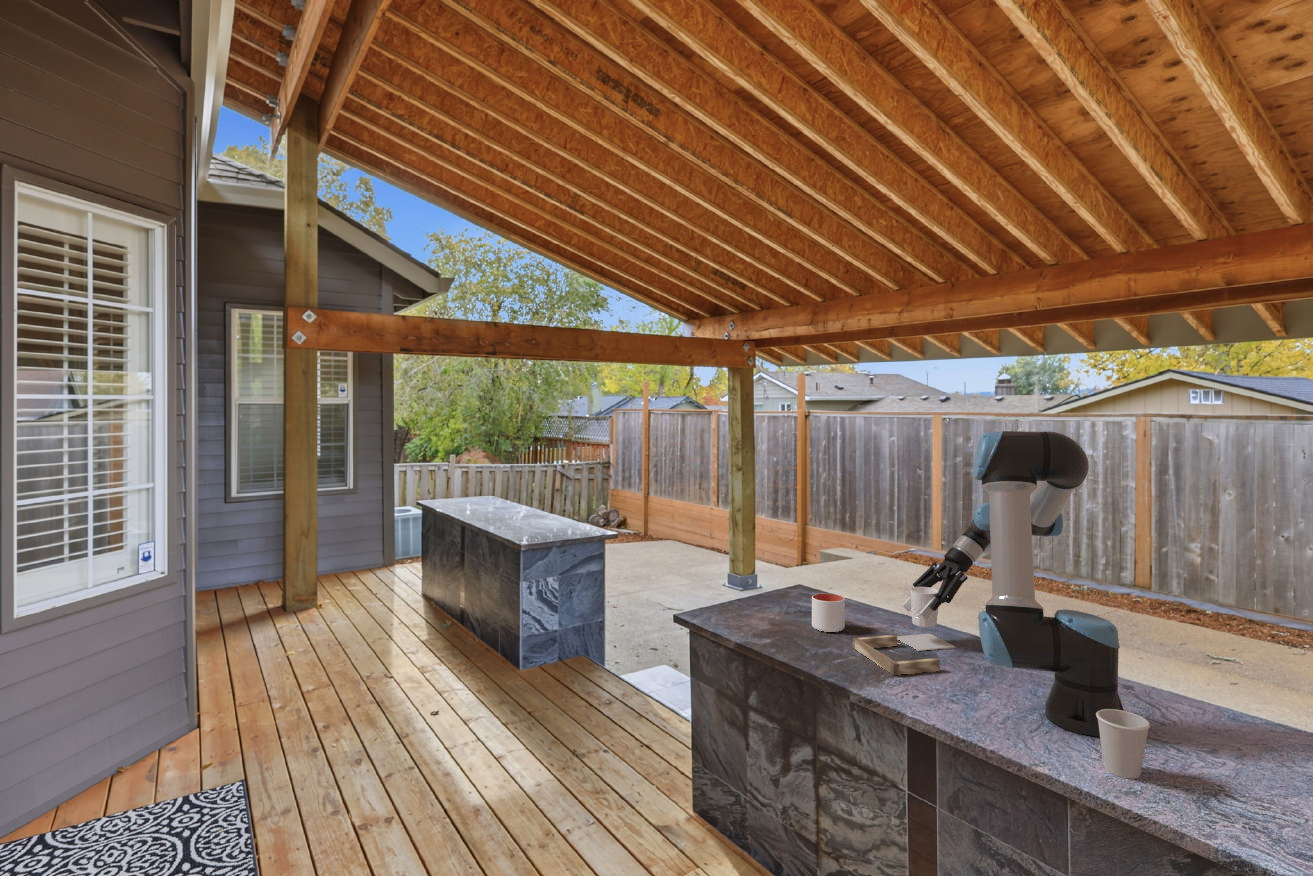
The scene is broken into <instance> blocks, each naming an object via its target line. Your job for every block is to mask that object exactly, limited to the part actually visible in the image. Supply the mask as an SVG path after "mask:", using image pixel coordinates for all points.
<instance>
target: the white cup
mask: <svg viewBox="0 0 1313 876" xmlns="http://www.w3.org/2000/svg"><path fill="white" fill-rule="evenodd" d="M938 591H939V590H938V589H936V588H934V587H930V588H929V587H914V586H913V587H911V588H910V594H909V595H911V610H910V613H911V623H912V624H913V625H915V626H918V627H923V628H934V627H936V626H937V624H938V614H939V607H938V608H937V610H935V611H934V612H933V613H932V615H931V616H930V617H929V618H928V619H927V620H925V619H924V618H923V617H922V616H921V615H920V614H919V613H920V612H921V611H922V610H923V608H924V607H925V606H926V605H927V604H928V602H929V601H930V600H931V599H932V598H933V597H935V595H937V594H938ZM935 598H936V597H935ZM936 599H937V598H936Z"/></svg>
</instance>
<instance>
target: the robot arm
mask: <svg viewBox="0 0 1313 876" xmlns="http://www.w3.org/2000/svg"><path fill="white" fill-rule="evenodd" d="M1088 459H1089V458H1088V456H1087V454H1086V452H1085V450H1084V449H1083V447H1082V446H1081V445H1080V444H1079V443H1077V441H1075V440H1074V439H1073V438H1071V437H1069V436H1067V435H1066V434H1063V433H1059V432H1056V431H1019V430H1018V431H1016V430H1015V431H1014V430H1010V431H1009V430H1007V431H1006V430H1000V431H987V432H984V433H983V434H981V436H980V437H979V438H978V442H977V448H976V453H975V459H974V468H973V471H974V472H973V474H974V475H973V476H974V479H975V480H977V481H981V489H983V490H984V491H985V492H986V493H987V494H988V498H989V500H988V502H985V503H982V504H980V505H979V506H978V507H977V509H976V510H975V511H974V514H973V516H972V517H973V518H972V520H971V522H970V525H968V527H967V528H966V529H965V531H964V532H963V533H962V535H961V534H960V536H959V537H958V538H957V540H956V541H955V542H954V543H953V544H952V547H949V549H948V550H947V552H945V554H944V556H943V558H944V560H943V561H942V562H941V563H940V564H938V563H936V562H935V561H934V562H932V563H931V564H930V566H929V568H927V570H926V571H925V572H923V574H922V575H920V576H919V578H917V579H916V580H915V581H914V582H913V583H912V586H913V587H929V588H933V586H935V585H937V584H938V583H939V582H941V585H940V586H939V590H938V594H937V595H935V597H936V598H937V599H936V598H935V597H933V598H932V599H931V600H930V601H929V602H928V604H927V605H926V606H925V607H924V608H923V610H922V611H921V612H920V613H919V614H920V615H921V616H922V617H923V618H924V619H925V620H927V619H928V618H929V617H930V616H931V615H932V613H933V612H934V611H935V610H937V608H938V609H939V607H940V606H941V605H942V604H945V603H946V604H950V603H951V602H952V600H953V599H954V597H955V596H956V594H957V593H958V592H959V589H961V587H962V585H963V583H964V582H966V581H967V580H968V576H967V575H966V574H965V573H967V572H968V571H969V570H970V569H971V568H972V566H973V565H974V563H975V562H976V561H977V560H978V559H979V558H980V557H981V555H982V554H983V553H984V552H985V551H986V549H987V548H988V547H989V546H990V560H991V586H992V587H991V589H992V595H991V598H990V599H989V600H988V601H987V602H986V603H985V610H982V611H979V613H978V615H977V616H978V617H977V619H978V631H979V638H980V643H981V646H982V647H981V648H982V651H983V654H984V657H985V659H986V660H987V661H988V663H990V665H991V664H992V666H996V667H997V666H999V667H1005V668H1008V669H1020V670H1021V669H1023V670H1033V671H1039V672H1040V671H1043V672H1053V673H1054V681H1053V684H1052V686H1051V688H1050V692H1049V694H1048V697H1047V700H1046V701H1045V703H1044V715H1045V717H1046V719H1048V720H1049V722H1051V723H1053V724H1054V725H1055V726H1058V727H1059V728H1062V729H1065V730H1067V731H1071V732H1072V733H1076V734H1081V735H1086V736H1090V737H1099V738H1100V732H1099V724H1098V718H1097V716H1096V713H1097V712H1098V711H1100V710H1103V709H1116V710H1122V711H1125V710H1124V707H1123V703H1122V702H1121V698H1120V694H1119V691H1118V690H1119V682H1118V681H1119V649H1120V648H1121V646H1120V642H1119V641H1120V640H1119V639H1120V638H1119V631H1118V628H1117V626H1116V625H1115V624H1113V623H1112V622H1111V621H1110V620H1108V619H1106V618H1104V617H1100V616H1098V615H1095V614H1091V613H1088V612H1084V611H1080V610H1074V609H1058V610H1056V611H1055V613H1054V614H1053V615H1054V616H1045V615H1044V614H1045V613H1044V607H1043V606H1042V605H1041V604H1040V603H1039V602H1038V601H1037V600H1036V592H1035V591H1036V589H1035V572H1034V568H1035V567H1034V553H1033V552H1034V551H1033V537H1034V536H1037V537H1038V536H1039V537H1045V538H1046V537H1058V536H1060V535H1061V534H1062V532H1063V529H1064V528H1063V526H1064V522H1063V515H1062V511H1063V508H1064V507H1065V505H1066V503H1067V501H1068V499H1069V498H1070V496H1071V494H1072V492H1073V491H1074V489H1076V488H1078V487H1080V486H1081V485H1082V484H1083V483H1084V481H1085V480H1086V478H1087V476H1088V473H1089V468H1090V464H1089V463H1090V462H1089V460H1088ZM1032 493H1033V494H1032ZM1031 494H1032V496H1031ZM904 601H905V602H904V603H903V604H902V606H903V608H904V609H905V610H906V611H907V612H908V613H909V612H910V613H911V594H909V595H908V598H907V599H906V600H904Z"/></svg>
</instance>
